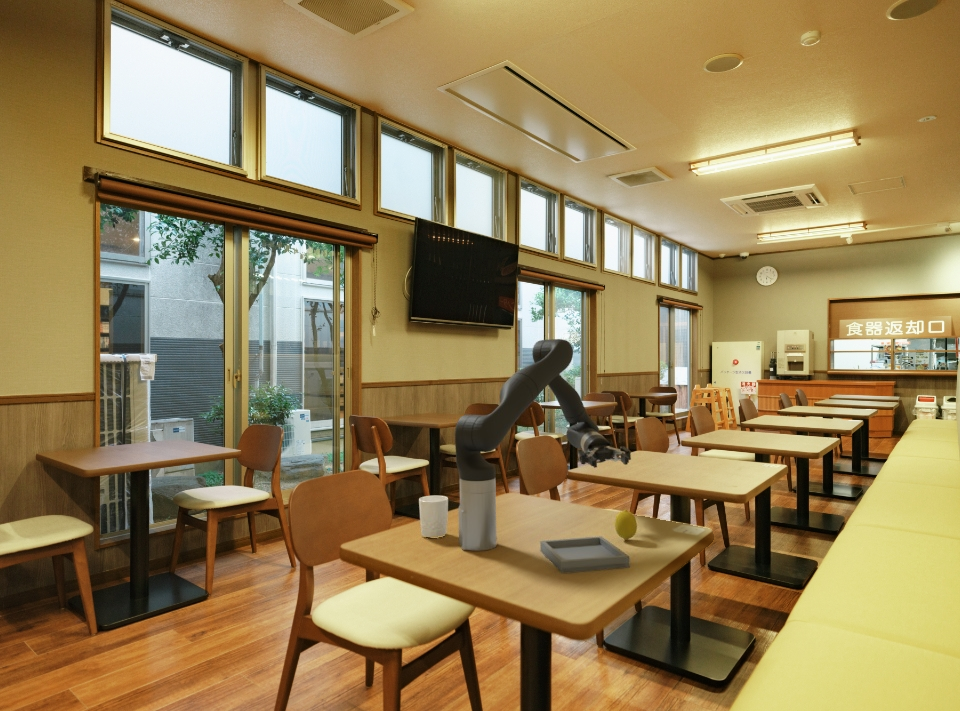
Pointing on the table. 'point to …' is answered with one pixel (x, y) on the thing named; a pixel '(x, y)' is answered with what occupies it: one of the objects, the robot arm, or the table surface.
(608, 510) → the table surface
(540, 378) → the robot arm
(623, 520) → the lemon
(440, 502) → the white cup
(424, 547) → the table surface
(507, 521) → the table surface
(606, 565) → the tray
